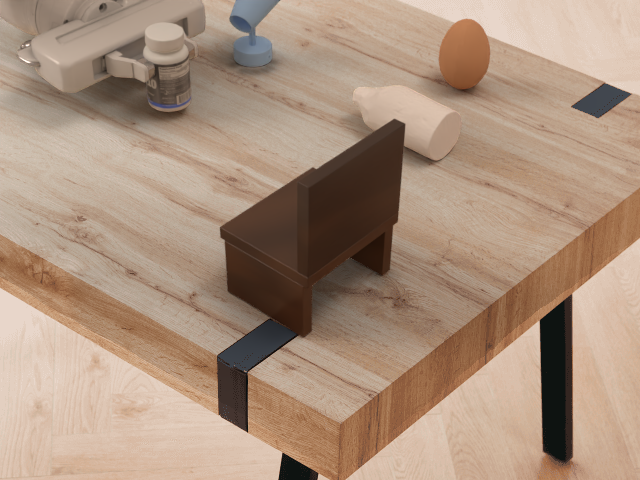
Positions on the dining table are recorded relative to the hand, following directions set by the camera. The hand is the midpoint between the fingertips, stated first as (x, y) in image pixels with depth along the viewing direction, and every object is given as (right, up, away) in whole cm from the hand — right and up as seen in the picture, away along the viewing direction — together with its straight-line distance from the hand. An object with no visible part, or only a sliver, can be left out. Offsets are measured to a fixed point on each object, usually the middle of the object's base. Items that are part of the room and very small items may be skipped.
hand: (172, 62), depth 113 cm
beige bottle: (+24, -7, +3) cm, 25 cm away
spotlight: (+7, +4, +14) cm, 16 cm away
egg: (+31, -1, +11) cm, 33 cm away
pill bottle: (-1, -3, +4) cm, 5 cm away
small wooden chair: (+15, -23, -16) cm, 32 cm away
